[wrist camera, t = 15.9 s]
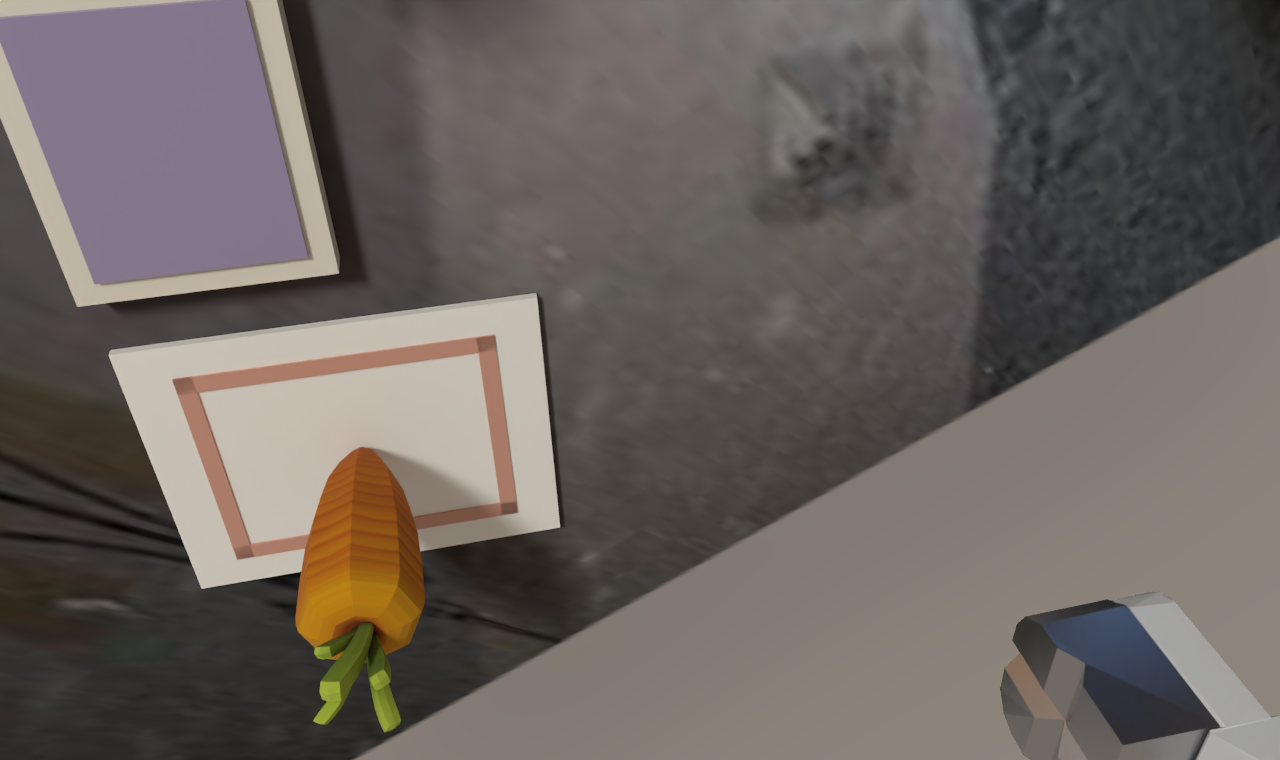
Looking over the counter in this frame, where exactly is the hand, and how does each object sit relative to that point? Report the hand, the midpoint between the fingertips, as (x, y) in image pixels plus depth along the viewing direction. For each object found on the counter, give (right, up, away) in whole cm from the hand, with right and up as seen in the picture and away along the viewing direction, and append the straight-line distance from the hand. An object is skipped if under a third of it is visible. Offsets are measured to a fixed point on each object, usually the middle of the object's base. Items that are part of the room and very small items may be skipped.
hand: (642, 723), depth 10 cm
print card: (-13, 0, +38) cm, 40 cm away
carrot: (-13, 0, +38) cm, 40 cm away
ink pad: (-18, +13, +28) cm, 35 cm away
